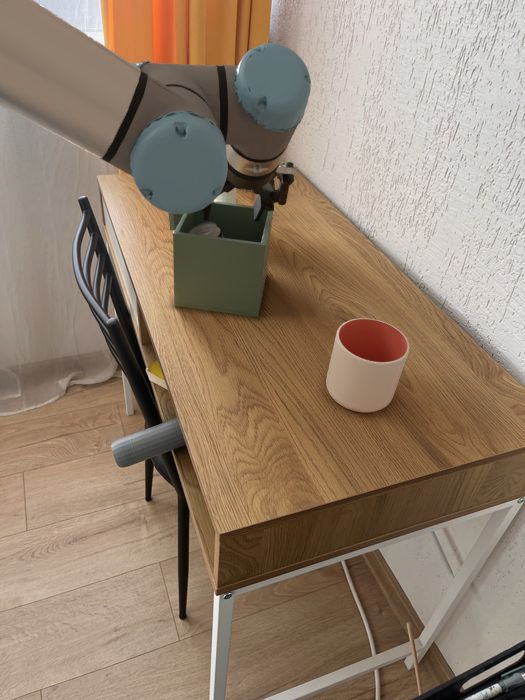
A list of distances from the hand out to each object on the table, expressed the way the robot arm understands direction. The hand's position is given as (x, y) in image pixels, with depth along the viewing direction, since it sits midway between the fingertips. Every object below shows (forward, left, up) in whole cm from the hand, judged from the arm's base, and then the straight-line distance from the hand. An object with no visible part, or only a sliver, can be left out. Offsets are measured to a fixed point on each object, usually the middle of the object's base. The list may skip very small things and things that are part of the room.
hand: (231, 212), depth 87 cm
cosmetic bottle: (-3, +11, -15) cm, 18 cm away
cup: (+23, -23, -15) cm, 36 cm away
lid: (-8, -1, +7) cm, 11 cm away
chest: (-1, -1, -15) cm, 15 cm away
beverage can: (+1, -3, -13) cm, 13 cm away
